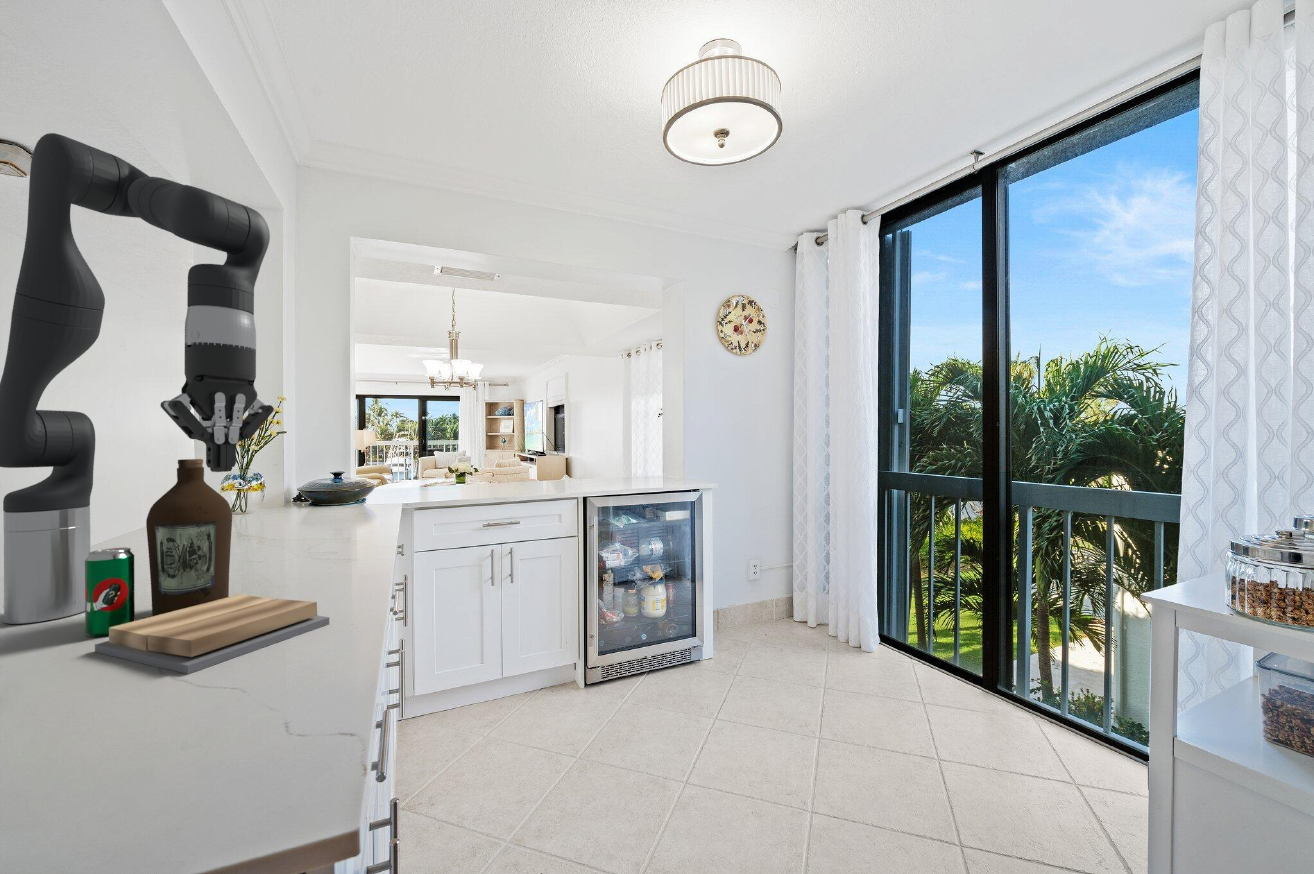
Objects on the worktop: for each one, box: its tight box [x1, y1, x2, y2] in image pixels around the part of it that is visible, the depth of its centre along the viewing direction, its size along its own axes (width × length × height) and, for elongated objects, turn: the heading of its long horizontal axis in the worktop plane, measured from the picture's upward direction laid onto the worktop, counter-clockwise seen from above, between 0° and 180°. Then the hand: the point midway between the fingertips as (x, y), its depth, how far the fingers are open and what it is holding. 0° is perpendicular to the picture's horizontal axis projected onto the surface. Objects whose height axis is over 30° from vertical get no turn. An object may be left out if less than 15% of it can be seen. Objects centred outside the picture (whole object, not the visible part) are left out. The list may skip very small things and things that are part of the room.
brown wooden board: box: [147, 598, 318, 657], centre depth 73 cm, size 9×16×2 cm, turn 159°
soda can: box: [84, 547, 136, 638], centre depth 77 cm, size 5×5×12 cm
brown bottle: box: [145, 458, 233, 617], centre depth 87 cm, size 11×11×25 cm
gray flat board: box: [94, 615, 330, 675], centre depth 75 cm, size 20×18×1 cm
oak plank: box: [108, 593, 275, 651], centre depth 76 cm, size 8×16×2 cm, turn 159°
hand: (220, 471), depth 72 cm, fingers closed
